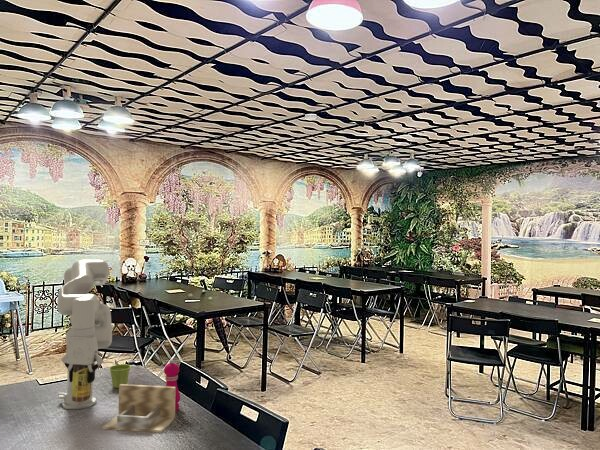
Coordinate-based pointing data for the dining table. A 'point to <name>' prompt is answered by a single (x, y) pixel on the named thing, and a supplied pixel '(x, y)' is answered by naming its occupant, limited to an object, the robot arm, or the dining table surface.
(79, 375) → the sauce bottle
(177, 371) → the pepper mill
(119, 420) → the condiment rack
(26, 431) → the dining table surface
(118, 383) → the plant pot
